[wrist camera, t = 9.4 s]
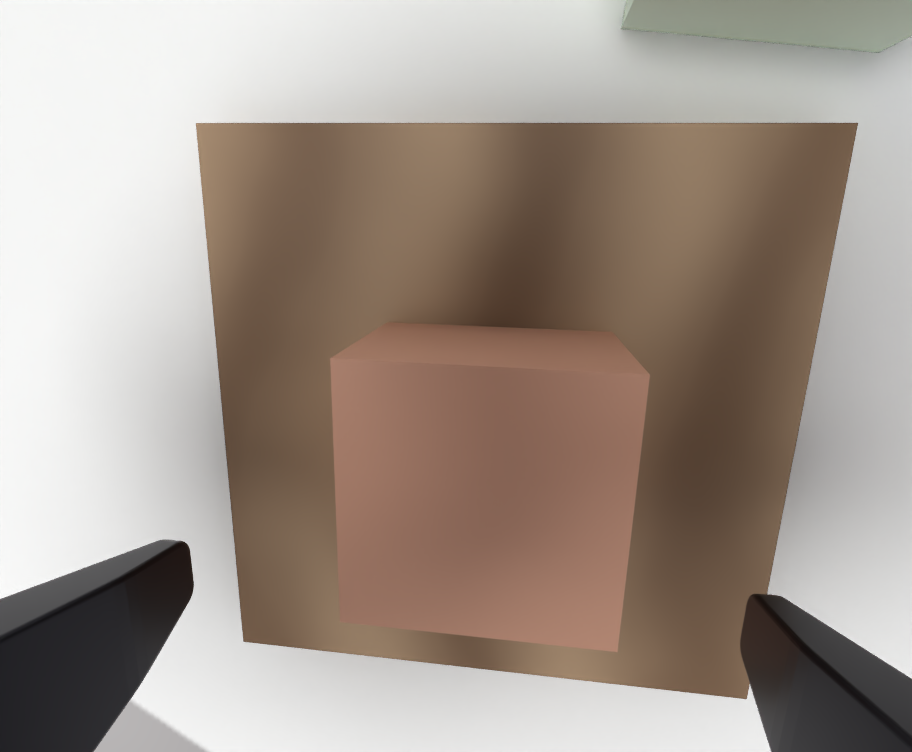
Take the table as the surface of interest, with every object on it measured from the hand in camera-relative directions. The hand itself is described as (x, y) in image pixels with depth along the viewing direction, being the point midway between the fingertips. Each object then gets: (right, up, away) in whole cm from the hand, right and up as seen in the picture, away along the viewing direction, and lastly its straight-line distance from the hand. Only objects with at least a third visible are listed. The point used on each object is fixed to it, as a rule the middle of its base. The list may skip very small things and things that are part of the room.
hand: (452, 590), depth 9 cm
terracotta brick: (+1, +2, +7) cm, 7 cm away
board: (+1, +2, +8) cm, 8 cm away
